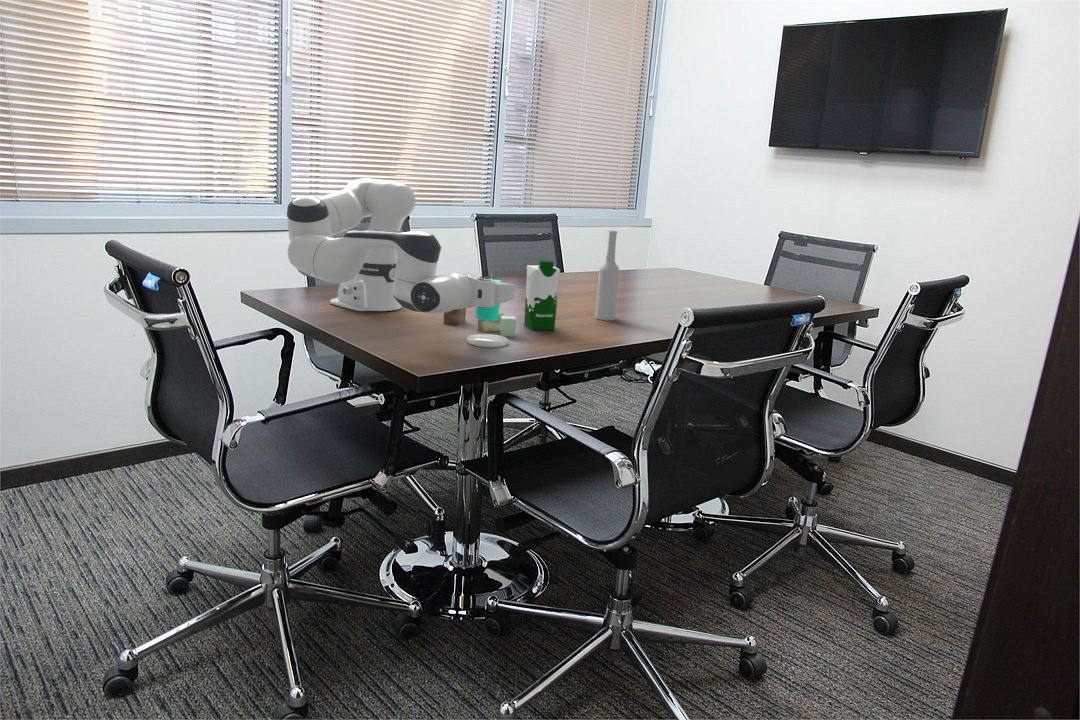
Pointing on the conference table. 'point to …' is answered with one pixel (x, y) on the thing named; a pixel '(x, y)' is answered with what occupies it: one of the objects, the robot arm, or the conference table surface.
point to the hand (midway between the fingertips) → (492, 284)
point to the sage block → (507, 326)
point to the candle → (488, 310)
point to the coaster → (487, 340)
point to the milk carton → (541, 296)
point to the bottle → (608, 283)
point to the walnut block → (455, 316)
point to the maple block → (489, 324)
